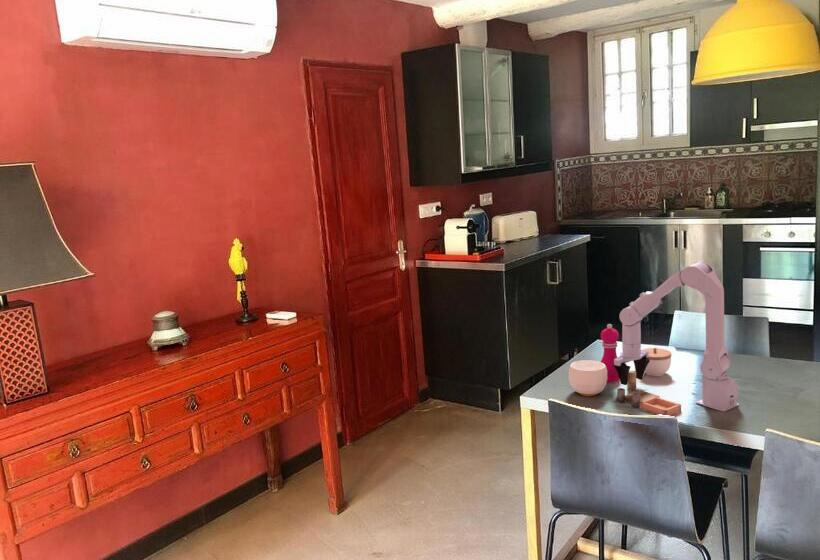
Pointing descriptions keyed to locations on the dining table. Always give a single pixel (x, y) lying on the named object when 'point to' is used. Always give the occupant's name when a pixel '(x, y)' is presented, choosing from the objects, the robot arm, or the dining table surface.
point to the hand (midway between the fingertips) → (631, 381)
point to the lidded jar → (658, 361)
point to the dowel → (631, 381)
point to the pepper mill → (610, 352)
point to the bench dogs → (635, 398)
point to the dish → (660, 406)
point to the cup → (588, 377)
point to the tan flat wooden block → (643, 396)
